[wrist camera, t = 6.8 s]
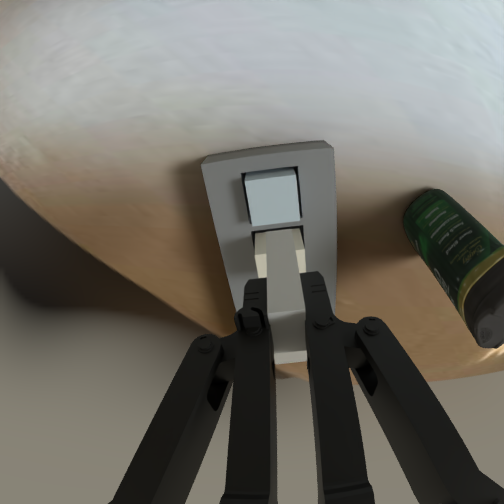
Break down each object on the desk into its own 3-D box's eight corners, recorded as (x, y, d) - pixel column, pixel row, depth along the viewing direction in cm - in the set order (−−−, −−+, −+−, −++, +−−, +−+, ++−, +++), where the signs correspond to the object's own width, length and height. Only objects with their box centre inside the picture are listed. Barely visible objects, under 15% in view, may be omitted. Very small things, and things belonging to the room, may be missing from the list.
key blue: (246, 169, 27) (244, 181, 24) (290, 163, 27) (295, 174, 23) (253, 209, 29) (252, 226, 26) (295, 204, 29) (300, 220, 25)
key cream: (255, 233, 28) (254, 255, 25) (299, 228, 28) (304, 249, 24) (261, 269, 30) (261, 293, 27) (302, 264, 30) (306, 288, 27)
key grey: (269, 318, 34) (270, 342, 31) (304, 314, 34) (308, 338, 30) (273, 340, 37) (273, 364, 33) (305, 337, 36) (308, 360, 33)
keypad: (208, 155, 28) (200, 164, 24) (324, 140, 26) (333, 147, 23) (248, 331, 41) (247, 352, 38) (328, 322, 40) (332, 342, 37)
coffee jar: (391, 214, 30) (476, 325, 15) (437, 177, 27) (543, 262, 12) (419, 263, 34) (483, 367, 18) (460, 230, 31) (538, 320, 15)
